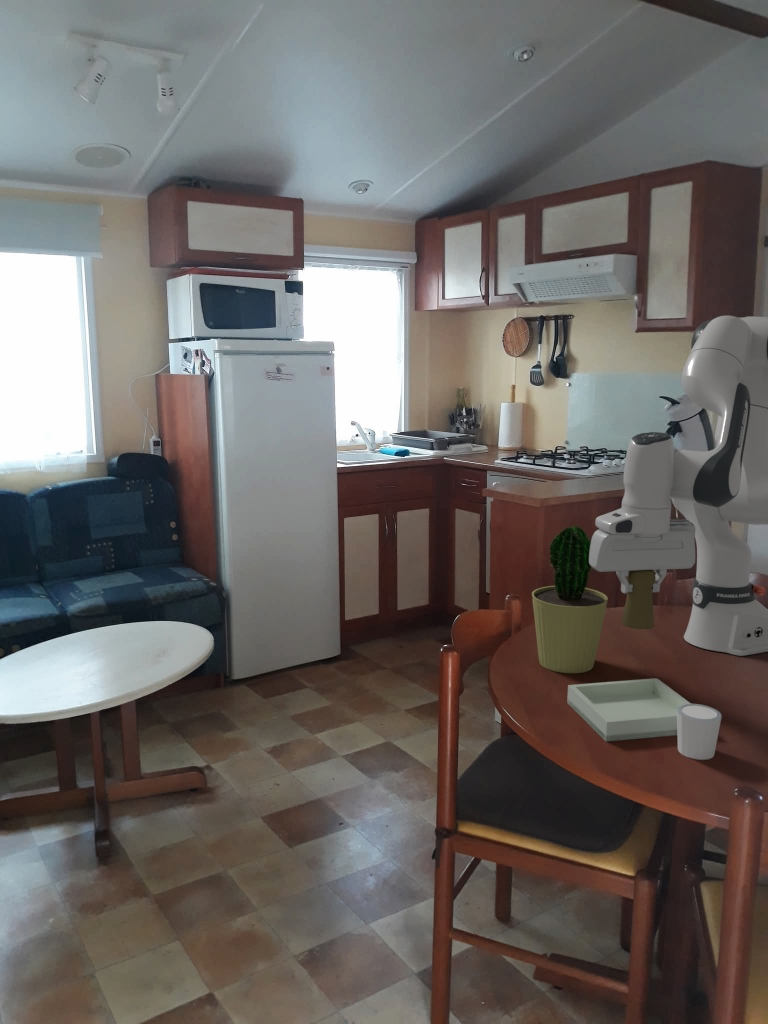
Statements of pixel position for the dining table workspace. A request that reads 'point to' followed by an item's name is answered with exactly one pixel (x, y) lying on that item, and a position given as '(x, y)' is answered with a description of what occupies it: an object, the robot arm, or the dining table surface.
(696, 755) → the white cup
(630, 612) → the olive brown pawn
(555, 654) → the potted cactus
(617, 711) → the tray
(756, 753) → the dining table surface
